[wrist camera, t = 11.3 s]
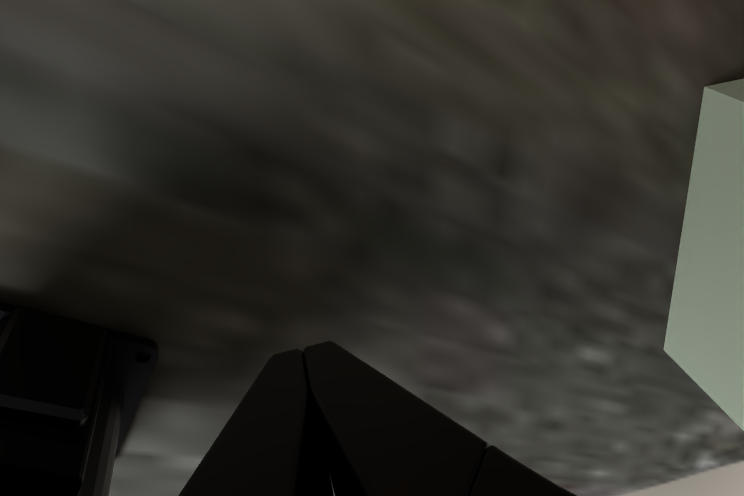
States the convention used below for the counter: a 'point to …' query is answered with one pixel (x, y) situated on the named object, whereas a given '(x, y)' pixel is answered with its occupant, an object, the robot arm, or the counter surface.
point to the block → (713, 256)
